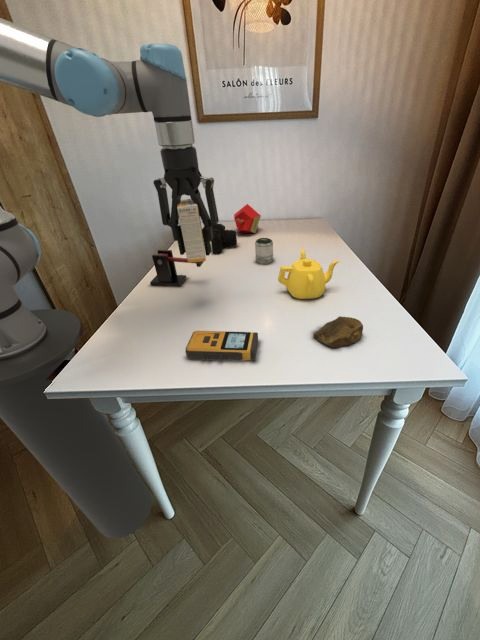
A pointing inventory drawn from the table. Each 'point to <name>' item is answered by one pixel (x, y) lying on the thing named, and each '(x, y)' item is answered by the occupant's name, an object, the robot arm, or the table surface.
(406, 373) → the table surface
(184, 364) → the table surface
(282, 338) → the table surface
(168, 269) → the lever bracket
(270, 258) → the glass jar
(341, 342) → the decorative stone
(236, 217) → the red pentagonal block
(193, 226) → the supplement box
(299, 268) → the teapot
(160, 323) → the table surface
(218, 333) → the electronic device
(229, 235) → the film camera
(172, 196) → the robot arm
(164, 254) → the lever switch
